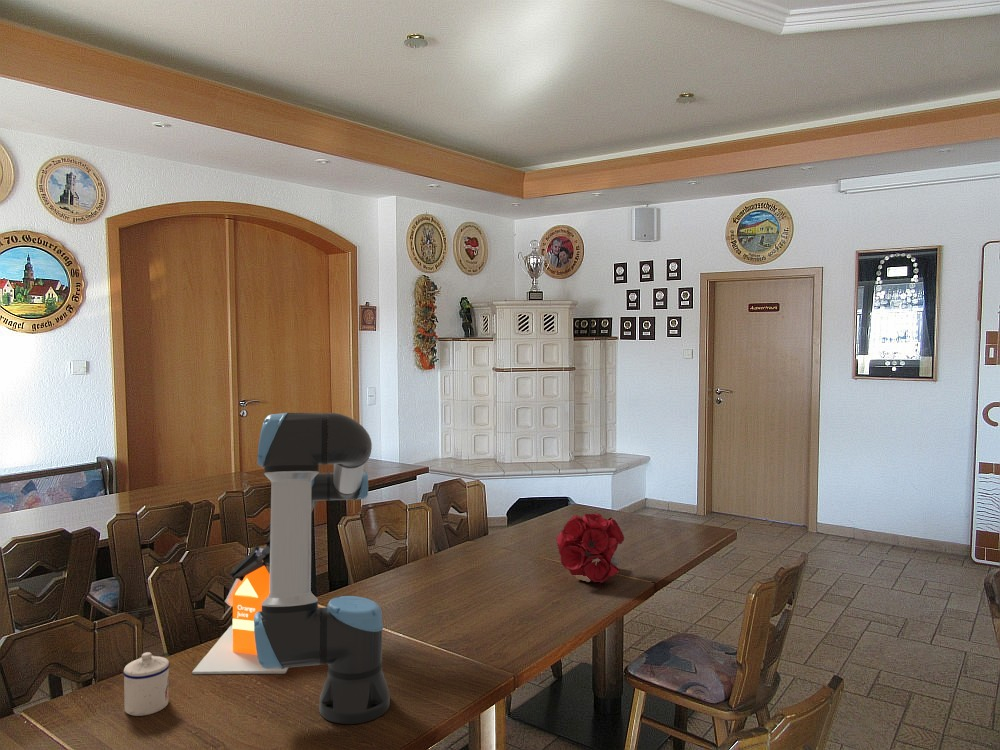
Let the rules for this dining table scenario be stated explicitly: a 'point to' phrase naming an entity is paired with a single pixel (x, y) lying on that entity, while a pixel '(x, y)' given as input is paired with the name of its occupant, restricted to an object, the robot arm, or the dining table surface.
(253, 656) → the rubber mat
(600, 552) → the bouquet
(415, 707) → the dining table surface
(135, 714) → the teacup with lid
